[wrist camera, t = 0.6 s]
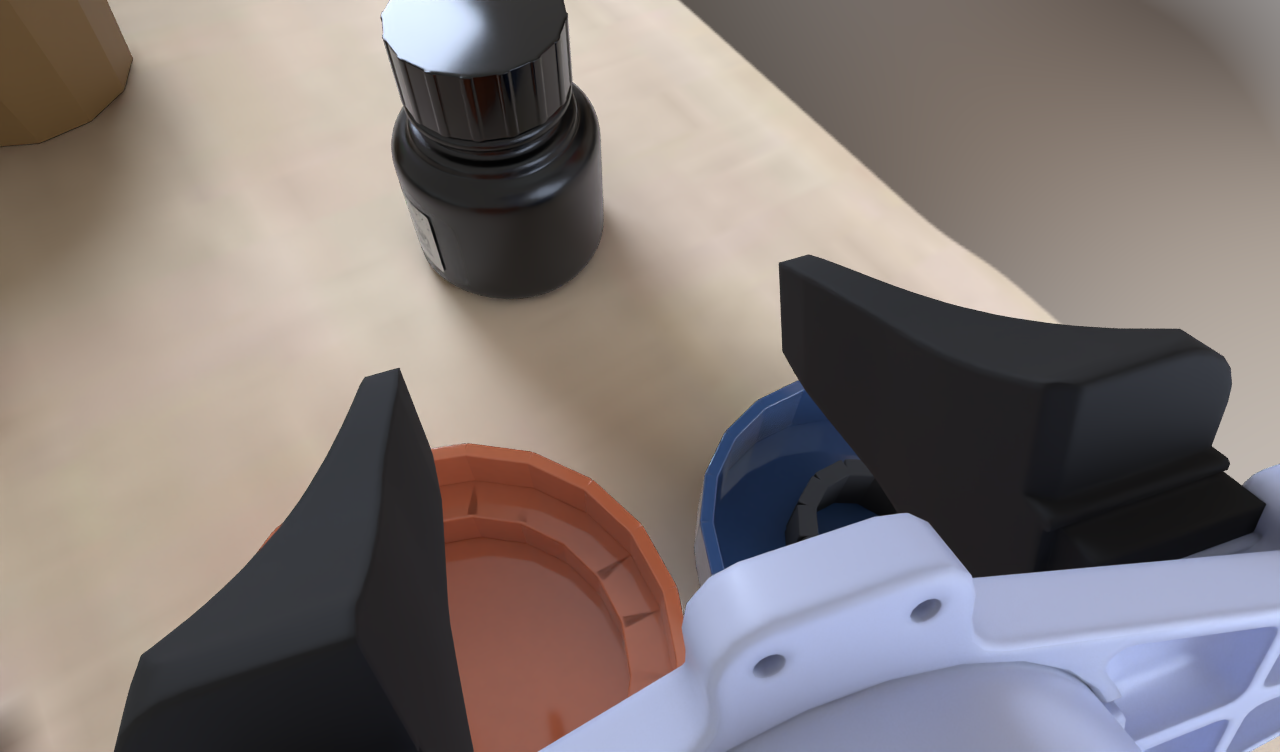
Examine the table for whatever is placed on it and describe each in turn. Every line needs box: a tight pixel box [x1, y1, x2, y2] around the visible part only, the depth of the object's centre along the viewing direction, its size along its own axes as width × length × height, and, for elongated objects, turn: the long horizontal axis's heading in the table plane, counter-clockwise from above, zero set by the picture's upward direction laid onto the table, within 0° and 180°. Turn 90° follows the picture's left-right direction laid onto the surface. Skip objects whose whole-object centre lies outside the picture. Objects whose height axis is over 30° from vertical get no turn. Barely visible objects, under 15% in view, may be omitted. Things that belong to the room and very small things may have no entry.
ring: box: [785, 459, 898, 546], centre depth 31 cm, size 5×5×3 cm
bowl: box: [259, 443, 686, 752], centre depth 27 cm, size 15×15×5 cm
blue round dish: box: [694, 381, 879, 587], centre depth 31 cm, size 12×12×4 cm
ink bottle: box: [381, 0, 604, 299], centre depth 35 cm, size 10×9×12 cm
